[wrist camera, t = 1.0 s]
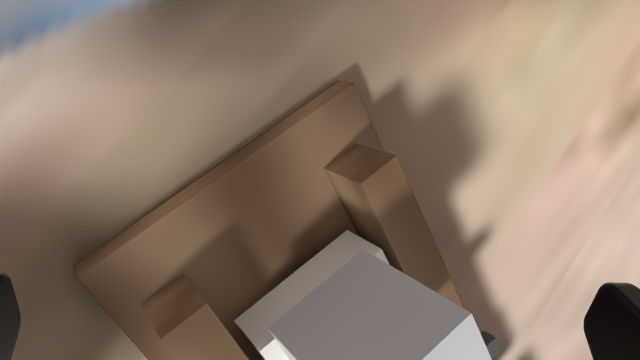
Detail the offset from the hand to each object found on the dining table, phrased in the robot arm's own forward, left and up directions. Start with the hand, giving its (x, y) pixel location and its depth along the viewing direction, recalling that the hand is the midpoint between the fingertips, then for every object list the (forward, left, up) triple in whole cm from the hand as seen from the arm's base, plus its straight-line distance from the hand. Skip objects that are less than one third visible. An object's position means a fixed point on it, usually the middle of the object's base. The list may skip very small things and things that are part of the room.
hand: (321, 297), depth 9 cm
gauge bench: (+2, -13, -11) cm, 17 cm away
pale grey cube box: (+3, -10, -10) cm, 14 cm away
